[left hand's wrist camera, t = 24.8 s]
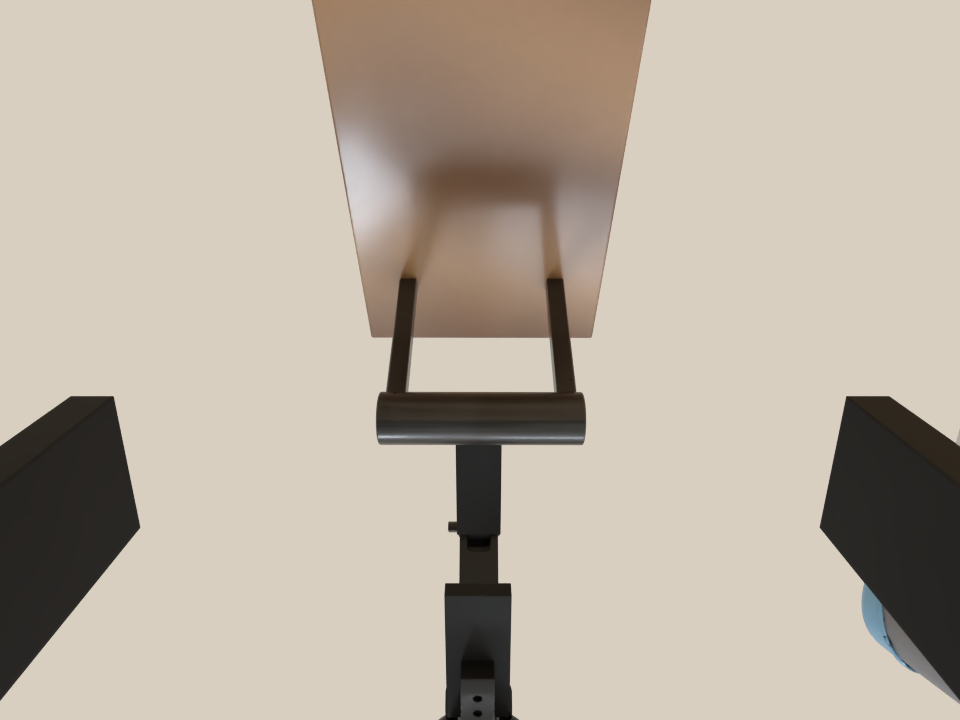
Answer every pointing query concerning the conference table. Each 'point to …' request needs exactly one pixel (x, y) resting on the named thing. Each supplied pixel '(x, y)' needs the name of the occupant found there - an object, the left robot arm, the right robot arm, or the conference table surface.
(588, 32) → the lid
